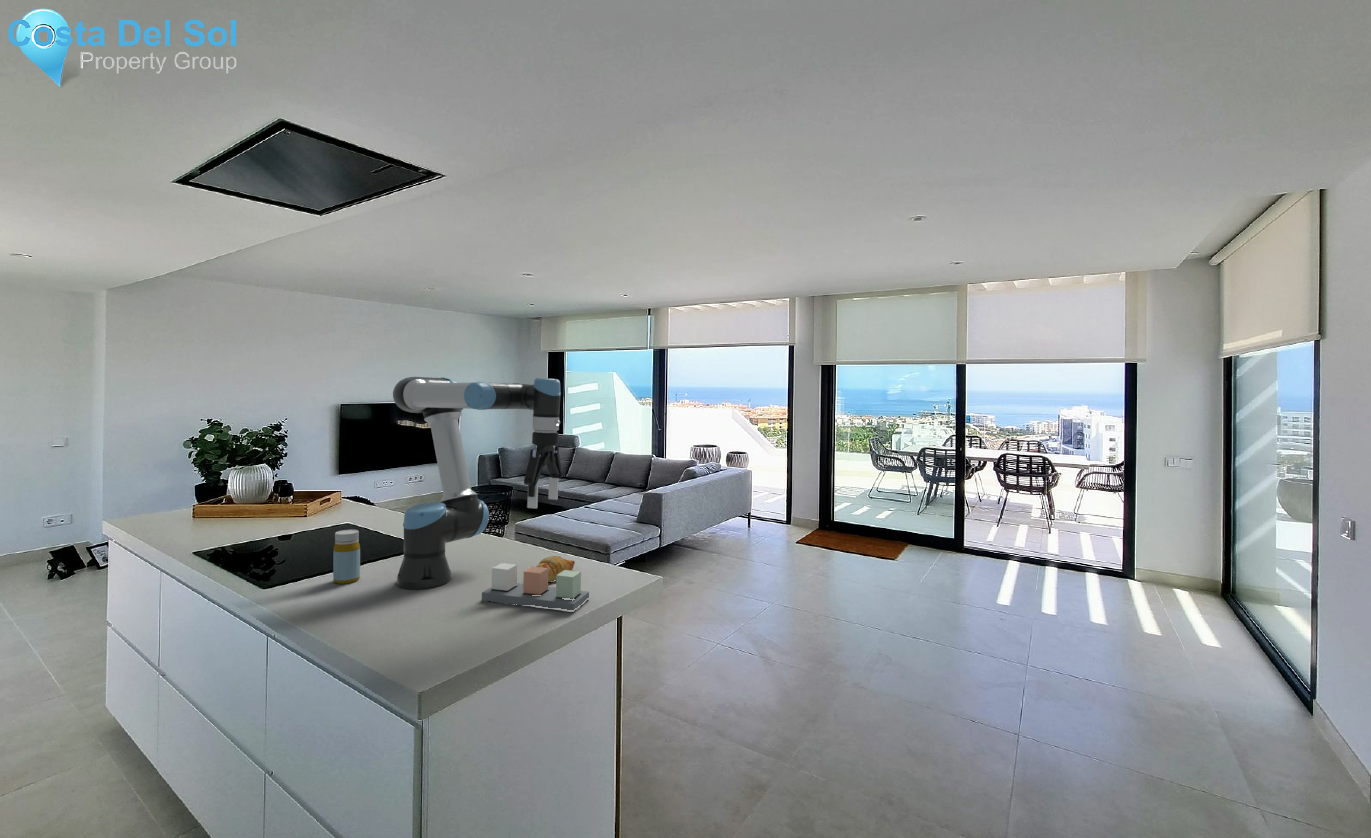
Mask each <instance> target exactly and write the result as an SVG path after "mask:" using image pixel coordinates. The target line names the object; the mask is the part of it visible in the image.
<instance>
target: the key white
mask: <svg viewBox="0 0 1371 838" xmlns="http://www.w3.org/2000/svg"><path fill="white" fill-rule="evenodd" d="M517 583H518V564H512V563H504V562H501V563H499V564H497V565H495V566H493V567H491V587H492V589H497V590H505V591H508V590H510V589H511V588H513V587H515V586H516V585H517Z"/></svg>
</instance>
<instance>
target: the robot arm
mask: <svg viewBox="0 0 1371 838" xmlns="http://www.w3.org/2000/svg"><path fill="white" fill-rule="evenodd" d="M533 381H534V382H533V384H529V383H527V384H526V383H519V382H518V383H517V382H515V383H514V382H512V383H510V382H509V383H506V382H504V383H503V382H487V381H477V382H459V381H457V380H455V379H453V378H447V377H428V376H427V377H421V376H409V377H406V378H403V379H401V380H399V381H398V382H397V383H396V384H395V386H394V388H393V391H392V398H393V401H394V403H395V404H396V406H397V407H398V408H399V409H401V410H402V411H403V412H404V411H405V412H408V413H411V414H412V413H415V414H421V413H422V414H423V420H424V421H425V422H426V423H428V424H429V425H430V430H431V435H432V440H433V447H434V451H435V458H436V462H437V467H438V473H439V478H440V483H441V488H442V497H441V499H440V500H439V501H437V502H436V501H432V502H424V503H420V504H416V505H414V506H411V507H409V508H407V509H406V511H405V513H404V516H403V517H404V518H403V522H402V527H403V559H402V561H401V565H400V567H399V570H398V573H397V575H396V585H397V586H398V587H400V588H403V589H408V590H409V589H410V590H422V589H425V590H426V589H431V588H435V587H439V586H443V585H445V584H448V583H449V582H450V581H451V580H452V570H451V569H450V566H449V565H450V564H449V563H448V559H447V556H446V544H447V543H451V542H456V541H460V540H463V539H465V540H466V539H470V538H473V537H476V536H478V535H480V534H482V533H483V532H484V531H485V530H486V527H487V525H488V523H489V518H490V512H489V508H488V506H487V504H486V503H485V502H484V501H483V500H480V499H479V497H478V493H476V492H475V491H474V490H472V487H471V483H470V475H469V472H468V466H467V461H466V457H465V456H466V455H465V450H464V446H463V440H462V435H461V431H460V430H461V429H460V425H459V424H460V423H459V419H460V417H461V416H462V414H463V413H462V411H463V410H464V409H472V410H478V411H486V410H531V411H532V430H533V432H532V435H531V444H532V445H533V446H536V449H530V452H529V453H530V454H529V460H528V464H527V468H526V472H525V475H524V479H523V484H524V486H527V504H526V508H528V509H538V501H539V499H538V498H539V497H538V496H539V485H538V482H539V479H540V476H541V475H542V474H541V473H542V471H543V468H544V467H545V466H546V467H547V471H548V474H549V476H550V477H549V478H548V500H556V501H557V500H558V499H559V498H558V497H559V478H560V479H561V478H562V477H563V470H562V464H561V458H560V453H559V449H560V447H559V442H560V441H559V438H560V437H559V436H560V433H559V430H560V424H561V421H560V406H561V394H562V392H561V382H560V380H559V379H557V378H539V377H537V378H535V379H534V380H533ZM557 431H558V432H557Z"/></svg>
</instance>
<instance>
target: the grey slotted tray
mask: <svg viewBox="0 0 1371 838" xmlns="http://www.w3.org/2000/svg"><path fill="white" fill-rule="evenodd" d="M523 584H524V583H520V582H517V585H516V586H515V587H513V588H511V589H510V590H508V591H505V590H497V589H492V586H490V587H489V588H487V589H486V590H483V591H482V592H481V602H485V601H491V602H490V603H493V602H498V603H497V604H500V603H507V604H506V605H508V604H515V605H514V606H516V604H517V605H535V606H542V607H548V608H561V609H567V610H574V609H575V608H577V607H578V606H579V605H581V604H582V603H583V602H584V601H585V600H586V599H587V598H589V599H590V591H586V590H581V591H580V594H578V595H577V596H576V597H574V599H575V600H573V601H572V600H564V599H562V597H556V587H552V586H548V589H547V590H546V591H544V592H543V593H541V594H540V595H541V596H532V595H538V594H530V593H523Z"/></svg>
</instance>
